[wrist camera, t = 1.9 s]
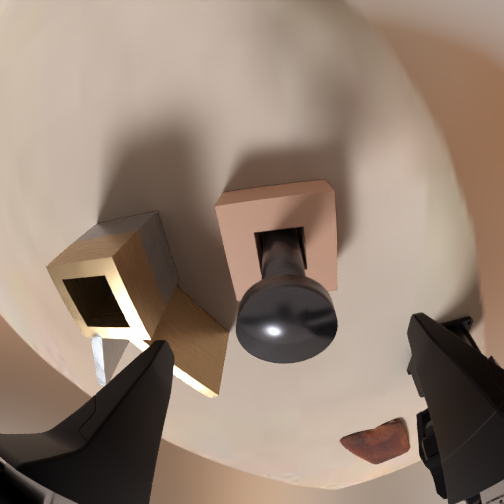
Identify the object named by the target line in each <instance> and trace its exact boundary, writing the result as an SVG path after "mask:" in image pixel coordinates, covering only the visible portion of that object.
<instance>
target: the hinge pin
mask: <svg viewBox="0 0 504 504" xmlns="http://www.w3.org/2000/svg"><path fill="white" fill-rule="evenodd" d="M337 327H338V324H337V317H336V314H335V310H334V306H333V303H332V299H331V297H330V295H329V293H328V291H327V290H326V289H325V288H324V287H323V286H322V285H321V284H320V283H318V282H317V281H315V280H313V279H311V278H309V277H306V274H305V269H304V264H303V260H302V255H301V250H300V245H299V241H298V236H297V231H296V227H295V228H286V229H278V230H270V231H264V238H263V259H262V279H261V281H259V282H257V283H255V284H254V285H253V286H251V287H250V288H249V289H248V290H247V291H246V293H245V294H244V295H243V297H242V299H241V301H240V304H239V310H238V317H237V323H236V334H237V338H238V340H239V342H240V344H241V345H242V347H243V348H244V349H245V350H246V351H247V352H249V353H250V354H251V355H253V356H255V357H257V358H259V359H261V360H264V361H268V362H273V363H295V362H300V361H304V360H307V359H309V358H312V357H314V356H316V355H318V354H319V353H321V352H322V351H323V350H325V349H326V348H327V347H328V346H329V345H330V344H331V342H332V341H333V339H334V337H335V335H336V332H337Z"/></svg>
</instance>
